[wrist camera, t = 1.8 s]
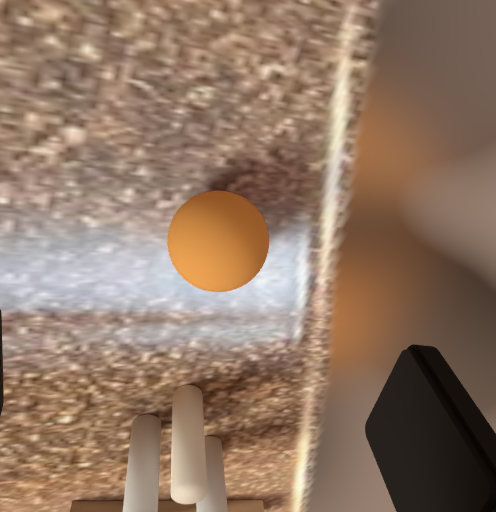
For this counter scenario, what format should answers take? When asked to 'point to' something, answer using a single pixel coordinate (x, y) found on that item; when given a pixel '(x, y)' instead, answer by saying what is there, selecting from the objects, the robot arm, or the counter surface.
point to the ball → (218, 241)
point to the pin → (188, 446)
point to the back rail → (164, 506)
